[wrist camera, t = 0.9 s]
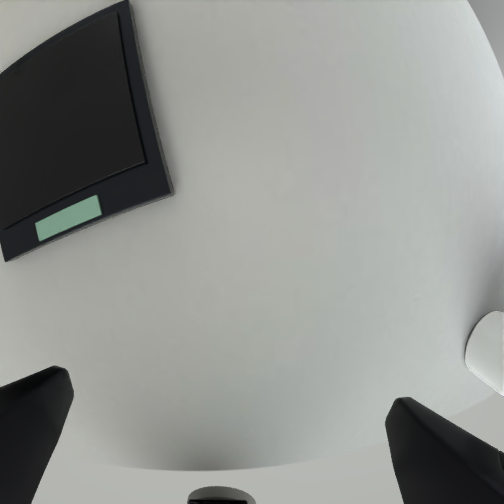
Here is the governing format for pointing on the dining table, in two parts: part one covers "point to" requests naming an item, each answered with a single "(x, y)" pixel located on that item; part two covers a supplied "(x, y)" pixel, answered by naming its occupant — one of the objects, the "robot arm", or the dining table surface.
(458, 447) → the robot arm
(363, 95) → the dining table surface
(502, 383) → the can
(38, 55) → the scale
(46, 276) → the dining table surface
